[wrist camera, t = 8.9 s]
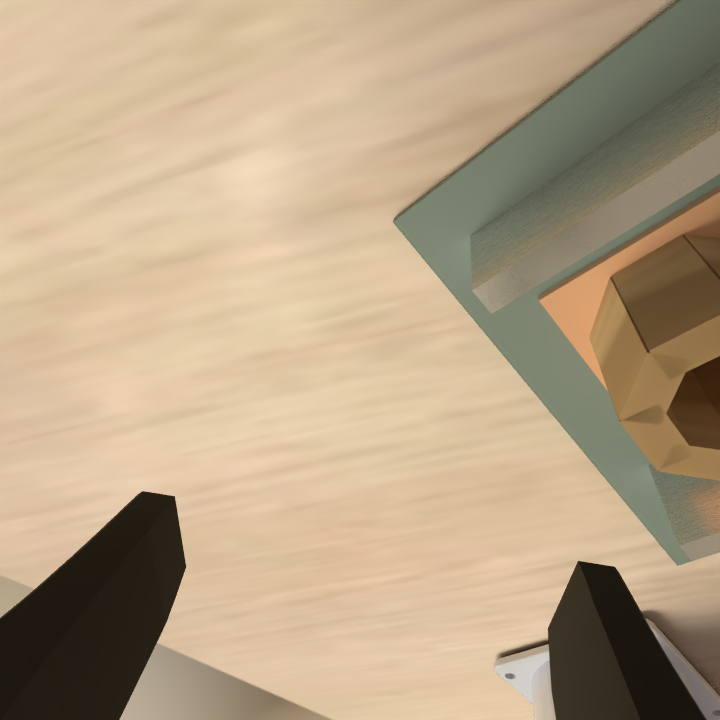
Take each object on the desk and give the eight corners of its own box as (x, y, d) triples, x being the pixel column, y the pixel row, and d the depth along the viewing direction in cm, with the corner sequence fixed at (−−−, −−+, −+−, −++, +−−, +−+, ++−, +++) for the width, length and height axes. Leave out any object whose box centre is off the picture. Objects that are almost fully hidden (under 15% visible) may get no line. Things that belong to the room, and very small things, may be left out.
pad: (832, 333, 17) (837, 338, 17) (634, 423, 20) (636, 428, 19) (746, 169, 15) (750, 173, 15) (537, 295, 18) (538, 300, 17)
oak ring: (812, 334, 17) (900, 424, 13) (644, 412, 19) (683, 504, 16) (739, 200, 15) (818, 265, 12) (563, 303, 17) (588, 381, 14)
